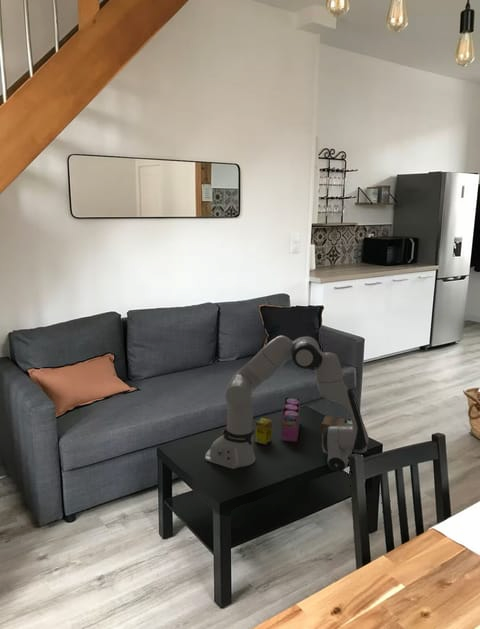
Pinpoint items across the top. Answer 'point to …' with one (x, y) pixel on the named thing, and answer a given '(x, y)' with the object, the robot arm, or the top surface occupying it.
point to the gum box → (290, 420)
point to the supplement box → (263, 431)
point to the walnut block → (330, 423)
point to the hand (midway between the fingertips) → (346, 435)
